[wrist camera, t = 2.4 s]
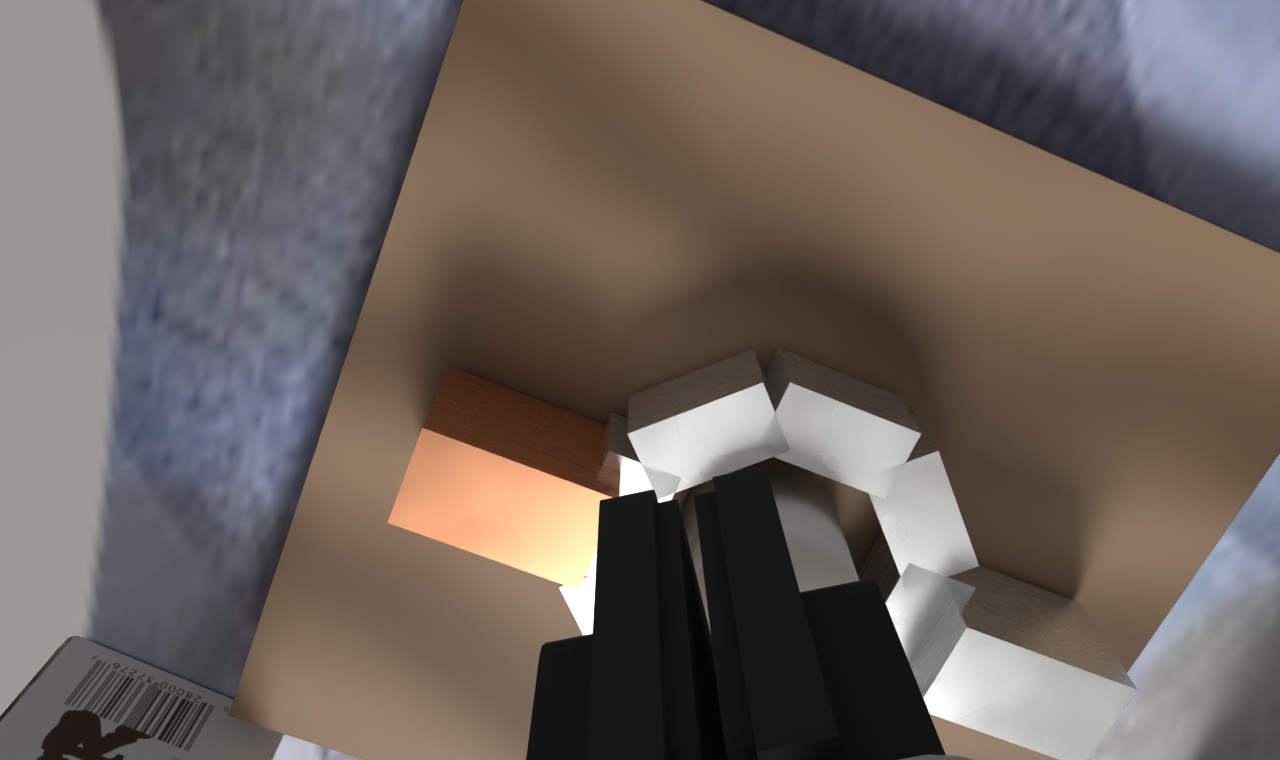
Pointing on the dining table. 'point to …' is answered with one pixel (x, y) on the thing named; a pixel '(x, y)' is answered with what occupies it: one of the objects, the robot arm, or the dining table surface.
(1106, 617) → the base
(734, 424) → the segmented ring with arms
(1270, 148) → the dining table surface
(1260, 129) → the dining table surface
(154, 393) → the dining table surface
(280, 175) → the dining table surface
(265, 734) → the coffee box
